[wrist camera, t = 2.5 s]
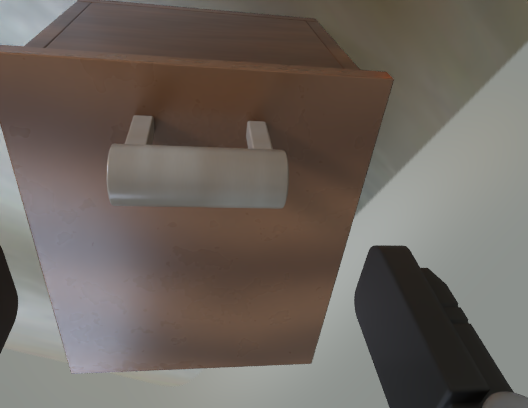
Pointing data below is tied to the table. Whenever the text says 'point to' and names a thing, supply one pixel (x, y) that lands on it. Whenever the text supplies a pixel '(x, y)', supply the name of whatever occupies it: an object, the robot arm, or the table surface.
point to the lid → (187, 200)
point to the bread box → (192, 34)
